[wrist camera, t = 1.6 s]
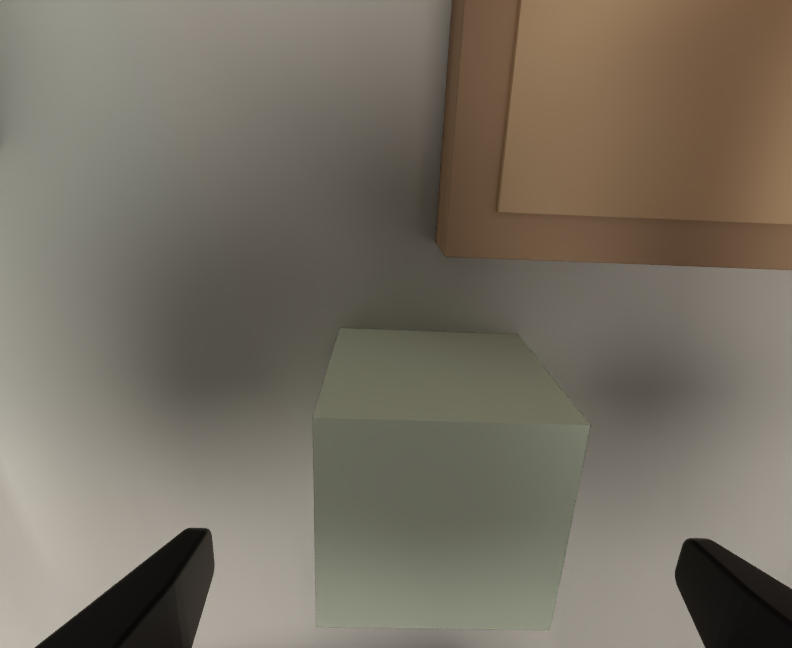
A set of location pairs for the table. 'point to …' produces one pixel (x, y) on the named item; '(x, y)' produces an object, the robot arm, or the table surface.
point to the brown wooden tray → (619, 132)
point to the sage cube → (441, 482)
